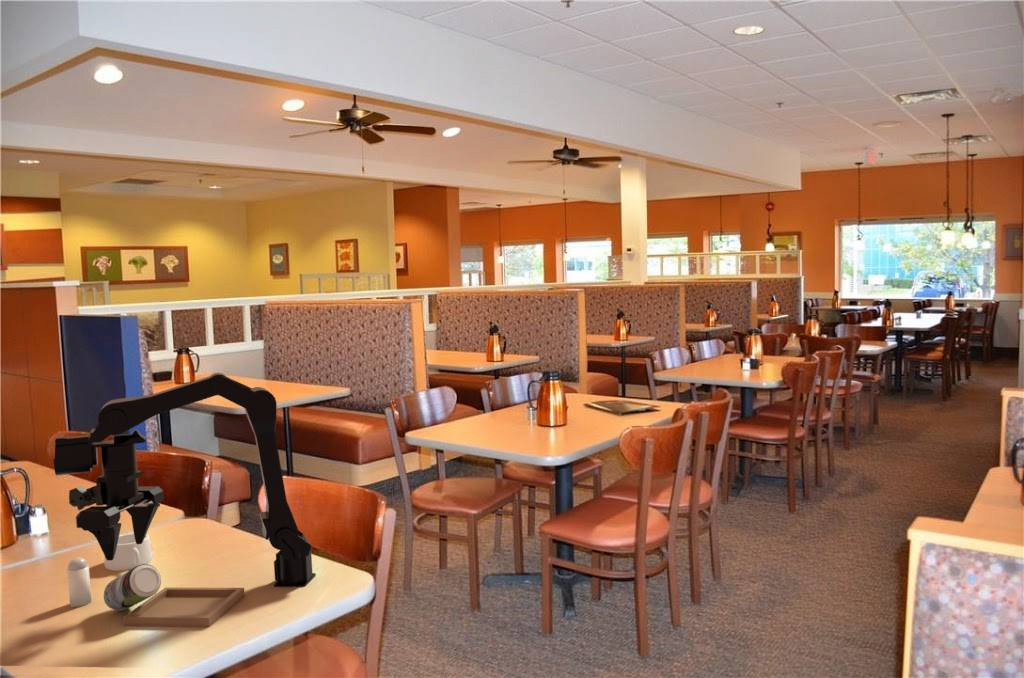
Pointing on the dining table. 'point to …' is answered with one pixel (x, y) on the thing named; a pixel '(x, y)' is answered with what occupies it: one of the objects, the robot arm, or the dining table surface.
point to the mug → (130, 553)
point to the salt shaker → (79, 582)
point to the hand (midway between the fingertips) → (125, 551)
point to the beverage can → (132, 587)
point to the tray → (184, 607)
